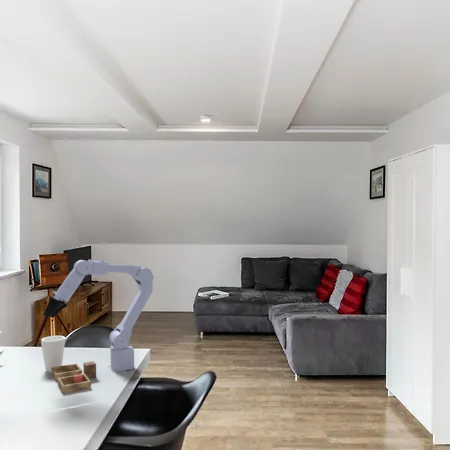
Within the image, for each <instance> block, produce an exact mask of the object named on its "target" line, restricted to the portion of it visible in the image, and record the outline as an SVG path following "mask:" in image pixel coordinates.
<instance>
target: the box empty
mask: <svg viewBox="0 0 450 450" xmlns="http://www.w3.org/2000/svg"><path fill="white" fill-rule="evenodd" d="M50 373H51V374H50V375H51V376H52V377H53V380H54V381H55V382H58V378H62V377H68V376H74V375H80V374H83V370H82V368H81V366H80V365H79V364H78V363H72V364H71V363H70V364H64V365H62V366H57V367H51V372H50Z"/></svg>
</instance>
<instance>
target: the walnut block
mask: <svg viewBox="0 0 450 450" xmlns="http://www.w3.org/2000/svg"><path fill="white" fill-rule="evenodd" d="M83 374H85V375H86V376H87V377H88V378H89V380H91V379H96V378H97V363H96V362H95V361H93V360H92V361H87V362H86V361H85V362H83Z"/></svg>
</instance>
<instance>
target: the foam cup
mask: <svg viewBox="0 0 450 450" xmlns="http://www.w3.org/2000/svg"><path fill="white" fill-rule="evenodd" d="M40 341H41V343H40V345H41V348H42V349H41V350H42V355H43V362H44V369H45V371H46V372H49V373H51V367H57V366H63V360H64V353H65V346H66V345H65V344H66V337H65V336H63V335H52V336H51V335H49V336H45V337H43V338H41V340H40Z"/></svg>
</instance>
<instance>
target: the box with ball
mask: <svg viewBox="0 0 450 450" xmlns="http://www.w3.org/2000/svg"><path fill="white" fill-rule="evenodd" d="M80 375H82V377H83V381H82V382H81V383H75V382H74V377H75V376H76V375H74V376H68V377H62V378H58V381H57V387H58V388H59V390H60V392H61V393H62V394H67V393H68V394H69V393H73V392H77V391H84V390H88V389H89V390H90V389H92V381H91V379H89V378H88V377H87V376H86V375H85V374H84V373H82V374H80Z"/></svg>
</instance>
